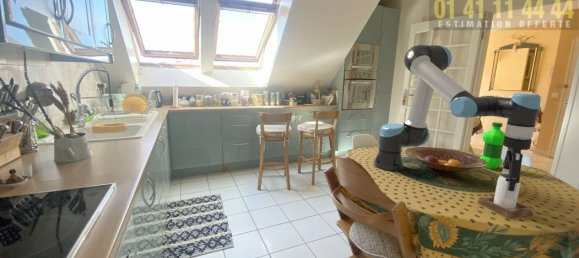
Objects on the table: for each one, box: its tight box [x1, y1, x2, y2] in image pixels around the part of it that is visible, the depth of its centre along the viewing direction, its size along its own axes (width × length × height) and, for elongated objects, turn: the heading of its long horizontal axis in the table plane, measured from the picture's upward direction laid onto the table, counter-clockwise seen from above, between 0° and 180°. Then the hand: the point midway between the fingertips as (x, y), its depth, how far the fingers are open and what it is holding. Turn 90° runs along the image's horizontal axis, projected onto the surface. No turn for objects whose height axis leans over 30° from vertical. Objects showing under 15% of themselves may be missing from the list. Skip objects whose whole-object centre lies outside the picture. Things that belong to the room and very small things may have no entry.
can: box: [494, 173, 521, 210], centre depth 96 cm, size 6×6×12 cm
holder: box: [477, 195, 534, 219], centre depth 97 cm, size 12×12×2 cm
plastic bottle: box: [479, 121, 506, 170], centre depth 139 cm, size 10×10×25 cm
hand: (506, 191), depth 96 cm, fingers open, 13 cm apart
